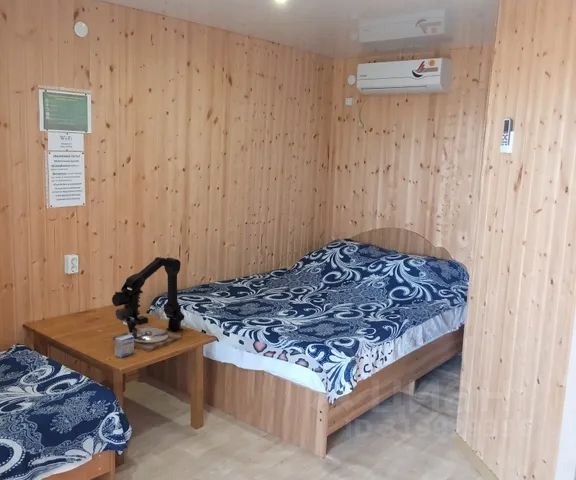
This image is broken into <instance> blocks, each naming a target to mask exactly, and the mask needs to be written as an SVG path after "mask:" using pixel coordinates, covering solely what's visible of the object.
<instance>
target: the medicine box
mask: <svg viewBox="0 0 576 480" xmlns="http://www.w3.org/2000/svg"><path fill="white" fill-rule="evenodd" d="M134 349H135V347H134V336H132V335H125V336H122V337H118V338H115V340H114V356H115V357H118V358H121V359H122V357H123V358H125V357H128V356H130V355H134Z"/></svg>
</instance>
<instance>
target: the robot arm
mask: <svg viewBox="0 0 576 480" xmlns="http://www.w3.org/2000/svg"><path fill="white" fill-rule="evenodd" d="M163 266H164V270H165V272H166V275H167V301H166V303H164V304H163V312H164V314H165V317H166V318H168V327H167V328H165V329H166V330H165V331H171V332H172V333H177V332H180V331H181V330H183V328H182V326H181V325H182V321H183V320H184V319H185V315H184V313H183V312H182V310H181V309H182V308H181V305H180V303H179V301H178V274H179V272H180V271H181V261H180V259H177V258H174V257H171V256H169V257H165V258H164V257H160V256H157V257H155V258H154V260H152V261H151V262H150V263H149V264H148V265H146V266H145V267H144V268H143V269H141V270H140V271H139V272H137V273H134V274H131V275H130V276H129V277H128V276H127V278H126V279H125V280H126V282H125V281H124V283H123V285H122V286H121V289H120V291H115V292H114V294H113V295H112V298H111V302H112V303H111V304H113V306H115V307H119V306H123V307H122V308H118V309H116V311H115V317H116V319H117V320H120V321H121V322H122V321H123V320H125V321H126V322H127V325H126V326H127V328H128V332H130V333H132V328H136V326H137V325H138V326H141V325H145V324H148V323H149V318H148V317H147V316H145V315H141V312H140V311H139V312H138V307H139V308H140V307H141V304H140V303H139V301H140V299H139V297H140V296H139V294H140V295H141V294H143V293H144V292H143V290H142V287H143V286H144V285H145V283H146V281H147V280H148V279H149V278H150V277H151V276H152V275H154V274H155V273H156V272H157V271H158V270H160V268H161V267H163ZM127 288H130V289H132V290H130V289H127ZM140 288H141V289H140Z"/></svg>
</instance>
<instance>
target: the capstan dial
mask: <svg viewBox="0 0 576 480" xmlns="http://www.w3.org/2000/svg"><path fill="white" fill-rule="evenodd" d="M138 328H139V329H138ZM166 331H167V330H164V329H161V328H157V327H155V328H141V327H135V328H132V333H130V332H129V331H128V332H129V333H128V335H132V336H134V342H138V343H158V342H162V341H164V340H166V339H167V338H168V333H167V332H168V331H167V332H166Z"/></svg>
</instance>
